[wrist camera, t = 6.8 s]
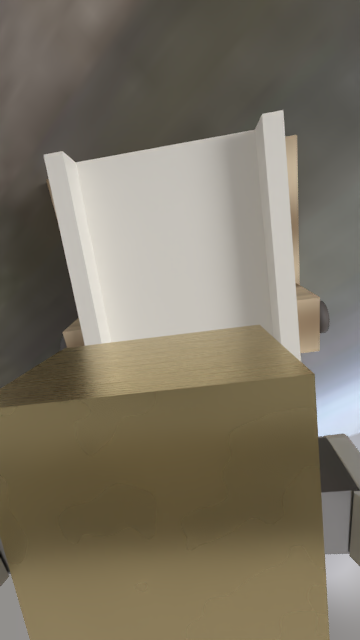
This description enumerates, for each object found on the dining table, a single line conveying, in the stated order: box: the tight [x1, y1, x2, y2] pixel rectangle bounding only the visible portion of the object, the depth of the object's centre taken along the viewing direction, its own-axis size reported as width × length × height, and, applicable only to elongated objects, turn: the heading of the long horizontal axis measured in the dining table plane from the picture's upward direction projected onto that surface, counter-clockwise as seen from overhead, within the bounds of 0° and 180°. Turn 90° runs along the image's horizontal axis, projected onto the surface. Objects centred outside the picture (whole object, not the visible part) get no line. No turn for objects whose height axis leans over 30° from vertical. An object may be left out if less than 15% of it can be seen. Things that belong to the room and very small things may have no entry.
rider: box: [0, 325, 329, 640], centre depth 7 cm, size 6×6×4 cm
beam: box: [44, 110, 301, 362], centre depth 21 cm, size 26×14×4 cm, turn 9°
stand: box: [46, 135, 329, 355], centre depth 24 cm, size 26×20×8 cm
